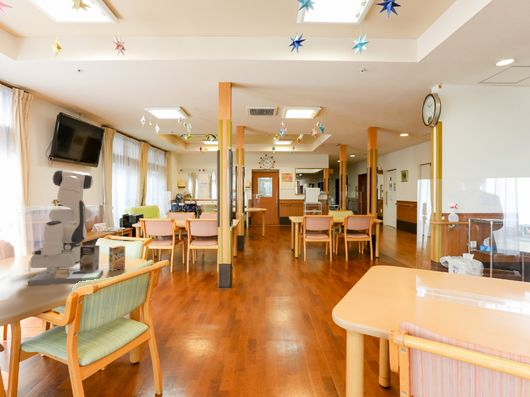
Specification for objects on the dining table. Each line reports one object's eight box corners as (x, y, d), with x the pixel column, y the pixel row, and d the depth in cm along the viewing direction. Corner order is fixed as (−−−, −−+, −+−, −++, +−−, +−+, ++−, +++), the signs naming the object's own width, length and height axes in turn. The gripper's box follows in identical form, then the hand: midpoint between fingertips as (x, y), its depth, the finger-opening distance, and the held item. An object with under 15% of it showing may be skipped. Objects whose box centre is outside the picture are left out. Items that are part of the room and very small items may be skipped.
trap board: (41, 276, 162) (41, 272, 162) (103, 273, 172) (103, 269, 172) (27, 285, 147) (27, 280, 147) (95, 281, 157) (95, 277, 157)
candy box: (112, 271, 178) (112, 247, 177) (108, 270, 180) (109, 247, 179) (125, 268, 185) (125, 245, 185) (121, 267, 187) (121, 245, 187)
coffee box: (78, 271, 174) (79, 246, 174) (85, 269, 181) (85, 244, 181) (93, 272, 175) (94, 247, 174) (99, 269, 181) (99, 245, 181)
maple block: (59, 275, 157) (59, 268, 157) (69, 275, 158) (69, 267, 158) (55, 278, 152) (55, 270, 152) (65, 277, 154) (66, 269, 154)
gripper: (76, 248, 160) (76, 272, 160) (34, 249, 154) (34, 274, 154) (72, 250, 154) (72, 275, 154) (28, 252, 148) (28, 277, 148)
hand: (52, 275), depth 154 cm, fingers closed
